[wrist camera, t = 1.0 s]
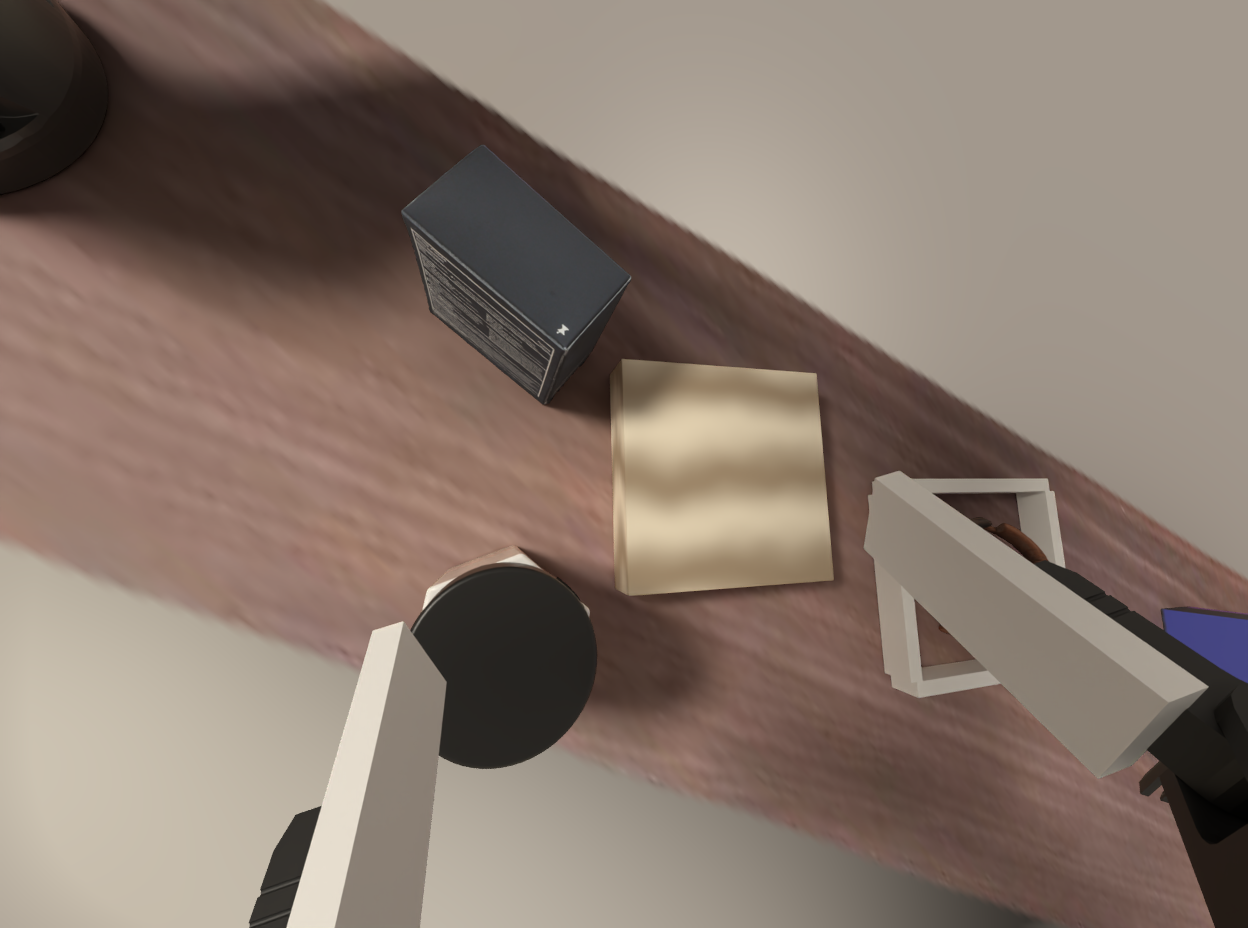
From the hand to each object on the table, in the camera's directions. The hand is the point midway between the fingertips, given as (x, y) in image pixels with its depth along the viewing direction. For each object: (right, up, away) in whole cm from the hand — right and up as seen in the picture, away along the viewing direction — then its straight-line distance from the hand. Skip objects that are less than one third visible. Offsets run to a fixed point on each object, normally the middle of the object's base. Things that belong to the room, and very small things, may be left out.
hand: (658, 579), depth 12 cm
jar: (-9, -7, +18) cm, 21 cm away
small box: (-9, +13, +21) cm, 26 cm away
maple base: (+6, +2, +23) cm, 24 cm away
